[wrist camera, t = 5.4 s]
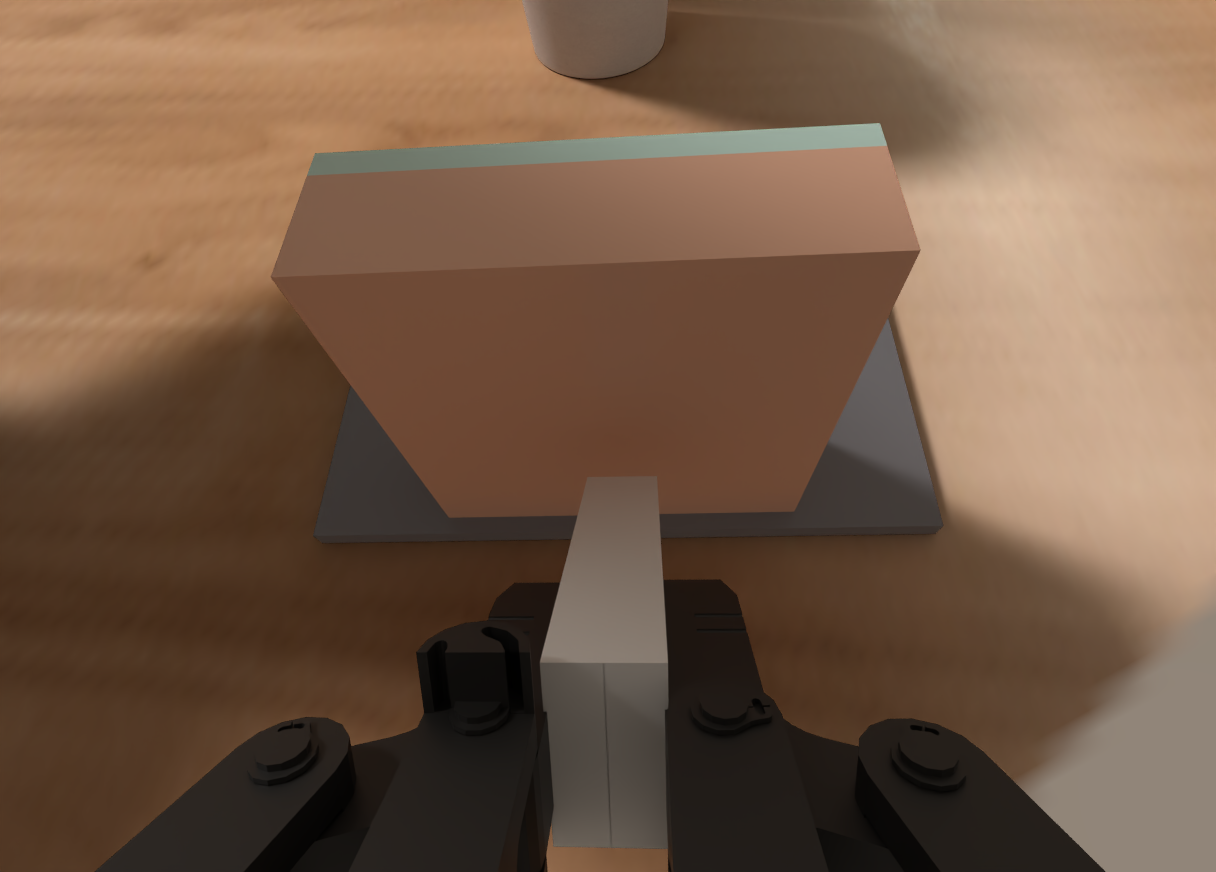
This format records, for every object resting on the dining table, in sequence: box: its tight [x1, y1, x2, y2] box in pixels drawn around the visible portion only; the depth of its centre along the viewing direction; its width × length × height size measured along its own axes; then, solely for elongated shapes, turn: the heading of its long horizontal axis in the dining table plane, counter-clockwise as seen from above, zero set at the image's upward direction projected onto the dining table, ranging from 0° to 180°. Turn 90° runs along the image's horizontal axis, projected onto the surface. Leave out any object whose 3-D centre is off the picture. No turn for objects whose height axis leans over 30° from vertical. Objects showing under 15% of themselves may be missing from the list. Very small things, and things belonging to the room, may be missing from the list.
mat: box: [313, 319, 943, 543], centre depth 22 cm, size 18×14×1 cm
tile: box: [271, 123, 920, 518], centre depth 15 cm, size 10×3×10 cm, turn 90°
